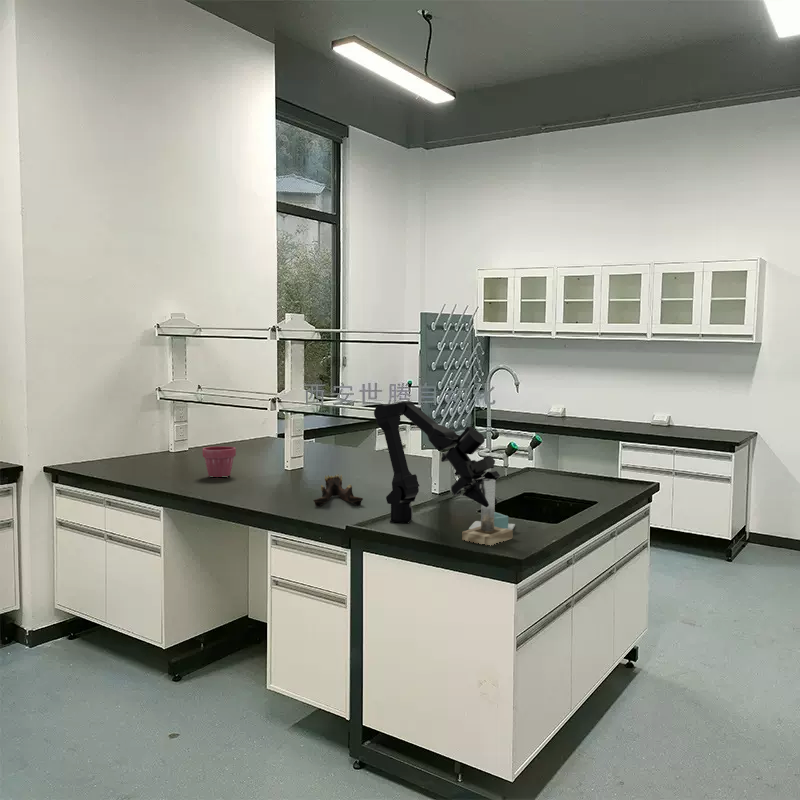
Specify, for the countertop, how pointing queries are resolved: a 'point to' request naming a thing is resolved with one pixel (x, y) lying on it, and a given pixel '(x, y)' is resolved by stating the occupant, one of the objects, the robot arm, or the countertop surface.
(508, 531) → the wooden frame
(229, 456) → the plant pot
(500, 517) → the plate with teal chevron
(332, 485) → the dark brown branching piece
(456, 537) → the countertop surface
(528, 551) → the countertop surface
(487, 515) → the silver metal cylinder
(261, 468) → the countertop surface
